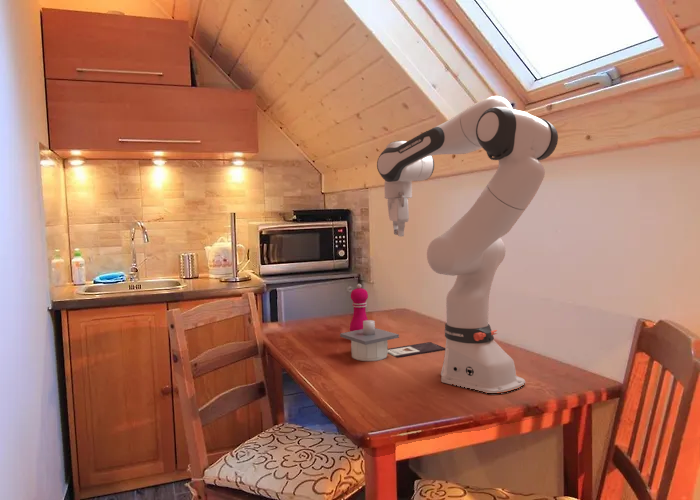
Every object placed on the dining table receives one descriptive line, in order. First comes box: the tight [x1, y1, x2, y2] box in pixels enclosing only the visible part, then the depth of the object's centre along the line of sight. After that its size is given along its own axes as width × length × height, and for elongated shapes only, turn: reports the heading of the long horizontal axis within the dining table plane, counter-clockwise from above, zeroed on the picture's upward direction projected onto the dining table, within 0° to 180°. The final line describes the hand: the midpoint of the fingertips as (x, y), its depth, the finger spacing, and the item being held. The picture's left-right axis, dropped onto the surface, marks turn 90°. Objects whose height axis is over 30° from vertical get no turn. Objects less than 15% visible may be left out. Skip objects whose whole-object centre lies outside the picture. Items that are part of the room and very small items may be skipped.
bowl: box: [350, 340, 389, 362], centre depth 163 cm, size 11×11×6 cm
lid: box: [339, 319, 400, 345], centre depth 163 cm, size 13×13×5 cm
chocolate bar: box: [388, 341, 446, 359], centre depth 169 cm, size 9×1×18 cm
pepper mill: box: [349, 283, 369, 332], centre depth 182 cm, size 7×7×20 cm
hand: (398, 235), depth 171 cm, fingers open, 8 cm apart
